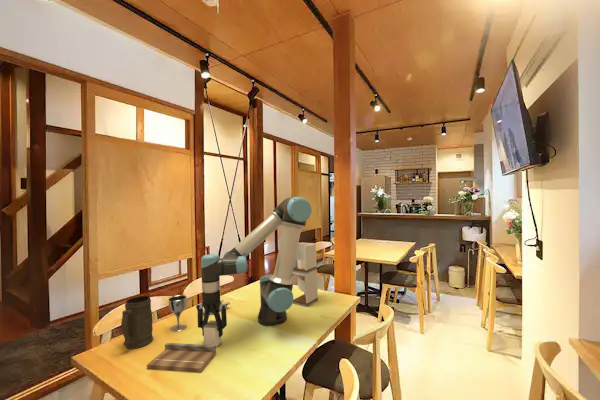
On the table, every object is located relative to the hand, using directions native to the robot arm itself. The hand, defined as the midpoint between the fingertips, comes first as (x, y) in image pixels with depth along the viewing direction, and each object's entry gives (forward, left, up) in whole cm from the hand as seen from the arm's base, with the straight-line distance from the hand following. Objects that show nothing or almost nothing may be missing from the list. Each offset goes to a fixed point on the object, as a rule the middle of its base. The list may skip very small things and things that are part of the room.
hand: (212, 343), depth 118 cm
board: (+6, +13, 0) cm, 14 cm away
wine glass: (+25, -13, -1) cm, 28 cm away
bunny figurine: (+16, -34, -1) cm, 38 cm away
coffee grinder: (-34, -51, -1) cm, 61 cm away
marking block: (0, 0, 0) cm, 0 cm away
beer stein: (+34, +4, -1) cm, 34 cm away
